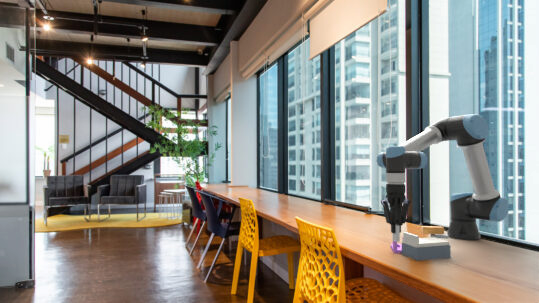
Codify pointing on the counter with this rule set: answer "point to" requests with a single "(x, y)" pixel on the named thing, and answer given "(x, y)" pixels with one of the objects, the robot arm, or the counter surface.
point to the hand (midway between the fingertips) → (396, 240)
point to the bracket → (396, 247)
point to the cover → (422, 241)
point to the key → (434, 231)
